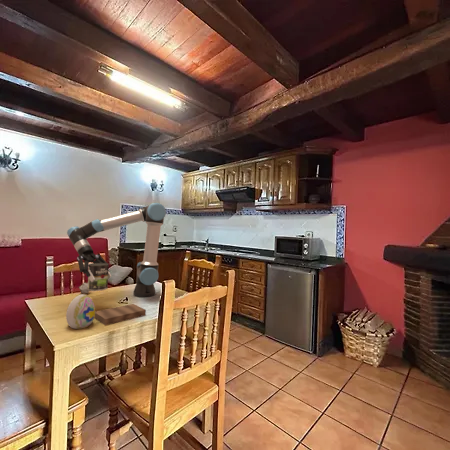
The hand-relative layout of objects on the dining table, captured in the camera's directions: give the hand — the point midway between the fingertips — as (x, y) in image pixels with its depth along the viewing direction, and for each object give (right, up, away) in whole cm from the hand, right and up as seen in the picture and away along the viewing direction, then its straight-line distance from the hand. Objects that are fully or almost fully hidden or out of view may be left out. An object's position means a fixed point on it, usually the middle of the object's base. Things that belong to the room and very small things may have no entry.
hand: (101, 279), depth 145 cm
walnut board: (+13, -19, -6) cm, 24 cm away
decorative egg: (-1, -18, -20) cm, 27 cm away
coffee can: (-3, -6, +1) cm, 7 cm away
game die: (-28, -18, +34) cm, 47 cm away
